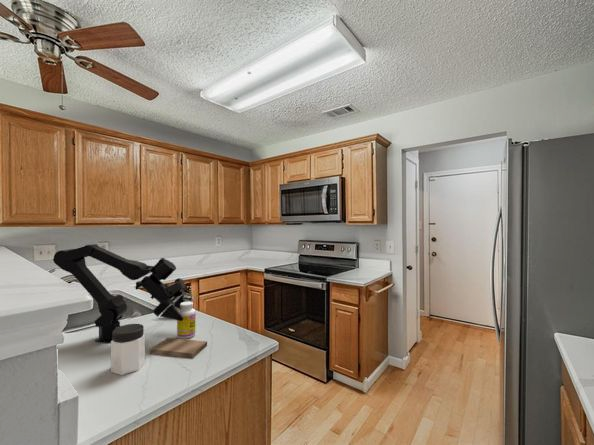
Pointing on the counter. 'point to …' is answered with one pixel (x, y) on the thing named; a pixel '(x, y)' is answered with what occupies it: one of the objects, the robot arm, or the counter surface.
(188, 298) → the food container
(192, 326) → the supplement bottle
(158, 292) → the robot arm
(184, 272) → the counter surface
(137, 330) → the jar
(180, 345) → the walnut board
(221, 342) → the counter surface
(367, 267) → the counter surface
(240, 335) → the counter surface
